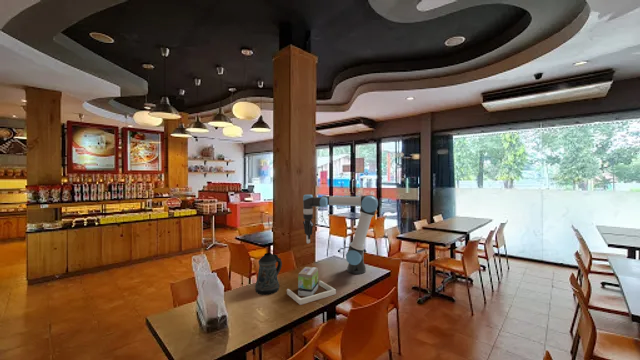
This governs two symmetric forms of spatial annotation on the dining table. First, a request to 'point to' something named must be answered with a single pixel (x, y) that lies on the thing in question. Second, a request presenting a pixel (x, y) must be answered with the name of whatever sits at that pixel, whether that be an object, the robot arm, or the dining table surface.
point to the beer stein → (268, 274)
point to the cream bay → (314, 297)
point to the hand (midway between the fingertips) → (308, 242)
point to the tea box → (308, 281)
